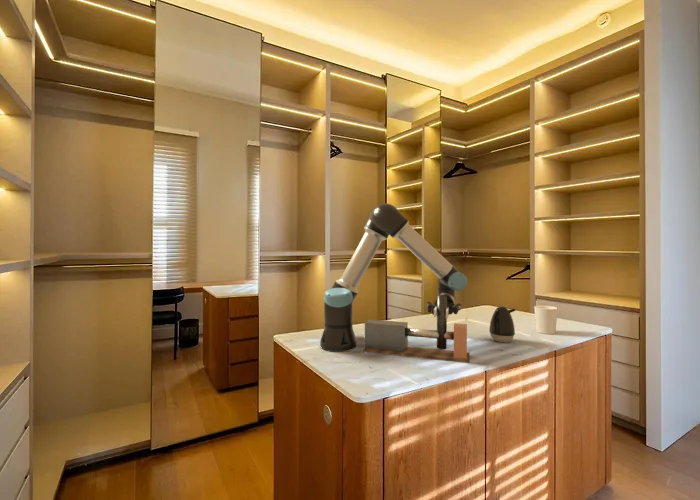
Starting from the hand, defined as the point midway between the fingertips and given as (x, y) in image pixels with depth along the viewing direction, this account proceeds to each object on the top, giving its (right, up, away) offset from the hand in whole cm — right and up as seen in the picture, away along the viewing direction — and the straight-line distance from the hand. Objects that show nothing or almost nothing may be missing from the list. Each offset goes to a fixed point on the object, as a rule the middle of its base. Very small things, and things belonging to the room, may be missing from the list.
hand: (440, 313), depth 127 cm
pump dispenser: (+33, -17, +25) cm, 45 cm away
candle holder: (+61, -16, +40) cm, 75 cm away
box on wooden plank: (-19, -16, +12) cm, 27 cm away
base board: (-8, -17, +9) cm, 20 cm away
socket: (+8, -16, +3) cm, 18 cm away
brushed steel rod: (-3, -14, +7) cm, 16 cm away
